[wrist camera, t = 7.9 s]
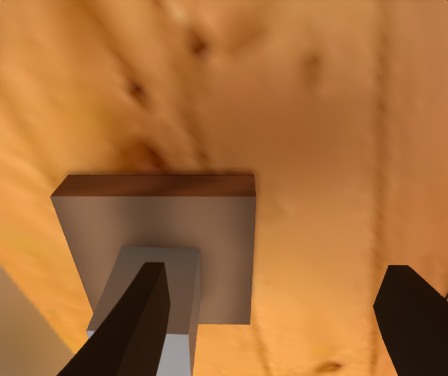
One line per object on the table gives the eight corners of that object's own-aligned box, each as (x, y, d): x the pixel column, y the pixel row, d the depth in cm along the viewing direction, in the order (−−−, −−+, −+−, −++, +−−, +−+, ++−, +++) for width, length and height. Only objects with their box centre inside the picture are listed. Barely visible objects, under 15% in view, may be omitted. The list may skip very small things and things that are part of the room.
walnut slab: (253, 170, 21) (255, 196, 18) (248, 293, 27) (250, 324, 25) (71, 170, 21) (50, 196, 19) (109, 291, 28) (97, 322, 25)
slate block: (199, 248, 21) (188, 334, 16) (200, 299, 23) (191, 386, 18) (122, 245, 21) (86, 330, 16) (132, 296, 23) (104, 383, 18)
